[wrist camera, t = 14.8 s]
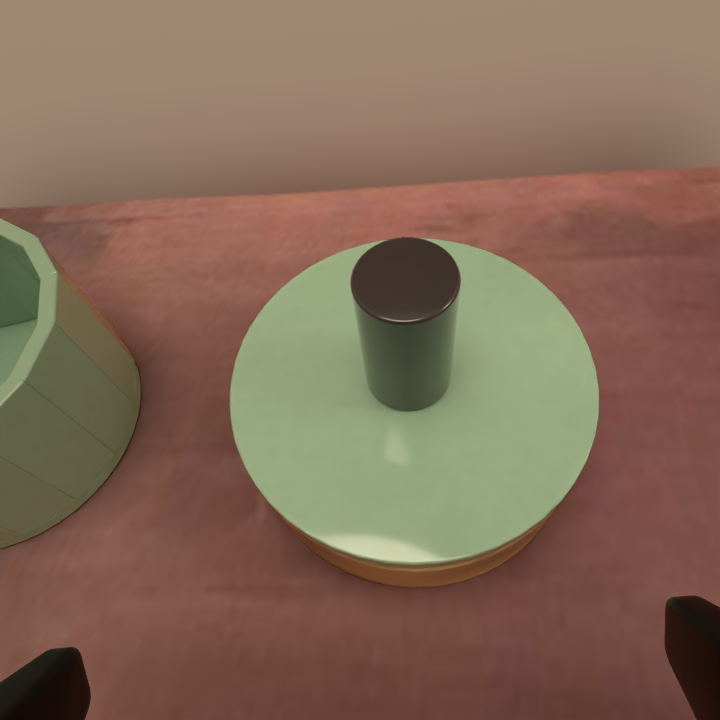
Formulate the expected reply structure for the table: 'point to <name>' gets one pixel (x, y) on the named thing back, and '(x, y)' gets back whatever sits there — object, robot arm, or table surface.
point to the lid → (414, 402)
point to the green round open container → (55, 391)
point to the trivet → (420, 575)
